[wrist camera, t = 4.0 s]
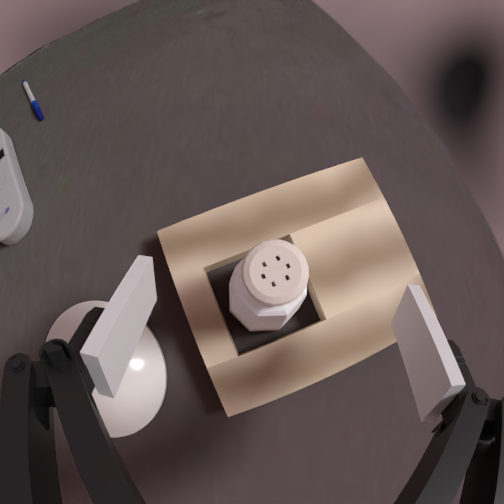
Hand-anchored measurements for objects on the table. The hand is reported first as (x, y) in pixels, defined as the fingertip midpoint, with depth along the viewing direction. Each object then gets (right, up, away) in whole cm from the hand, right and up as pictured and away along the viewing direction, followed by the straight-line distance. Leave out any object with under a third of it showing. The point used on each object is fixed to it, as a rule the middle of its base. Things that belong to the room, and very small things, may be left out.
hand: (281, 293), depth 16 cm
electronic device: (-28, +9, +10) cm, 31 cm away
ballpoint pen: (-28, +20, +13) cm, 37 cm away
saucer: (-13, -7, +6) cm, 16 cm away
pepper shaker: (-1, -1, +8) cm, 8 cm away
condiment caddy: (+2, 0, +8) cm, 8 cm away
